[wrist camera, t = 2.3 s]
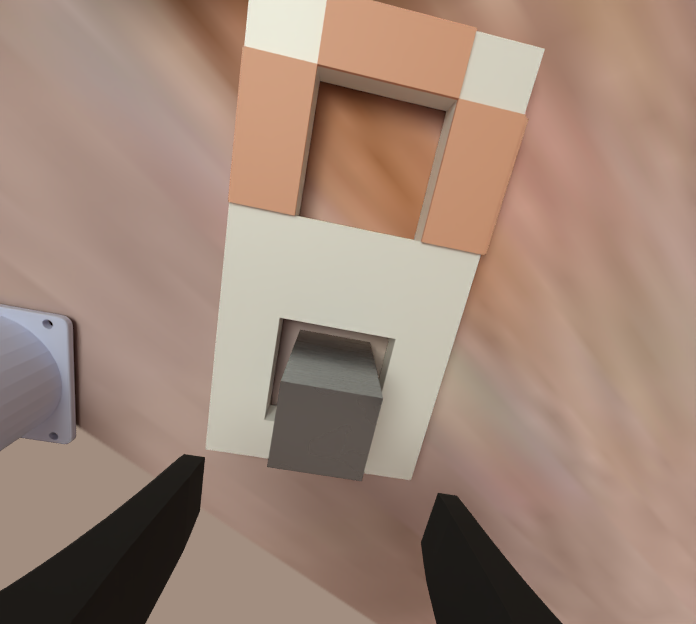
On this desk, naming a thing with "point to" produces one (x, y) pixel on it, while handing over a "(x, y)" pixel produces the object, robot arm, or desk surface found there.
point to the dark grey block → (326, 407)
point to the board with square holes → (349, 242)
